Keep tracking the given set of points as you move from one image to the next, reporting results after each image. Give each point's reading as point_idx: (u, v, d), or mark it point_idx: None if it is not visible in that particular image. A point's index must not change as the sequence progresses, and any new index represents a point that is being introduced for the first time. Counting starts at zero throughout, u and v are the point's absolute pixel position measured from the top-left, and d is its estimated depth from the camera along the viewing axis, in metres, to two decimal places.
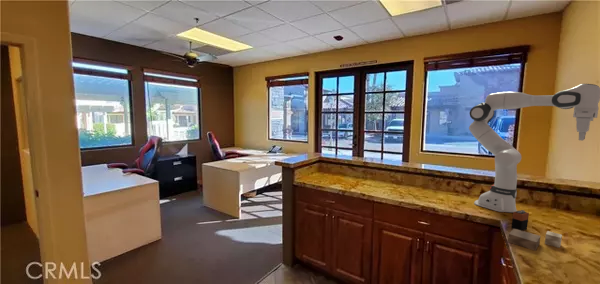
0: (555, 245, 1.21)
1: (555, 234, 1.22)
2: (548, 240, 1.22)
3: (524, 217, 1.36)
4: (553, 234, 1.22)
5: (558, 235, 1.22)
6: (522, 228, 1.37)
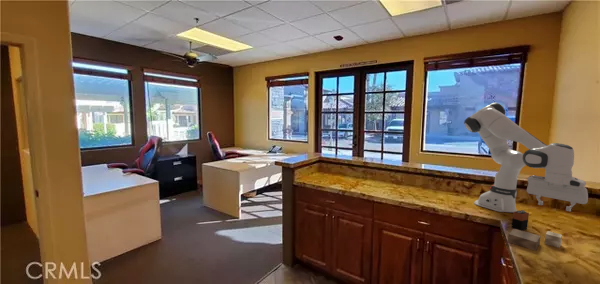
0: (555, 245, 1.21)
1: (555, 234, 1.22)
2: (548, 240, 1.22)
3: (524, 217, 1.36)
4: (553, 234, 1.22)
5: (558, 235, 1.22)
6: (522, 228, 1.37)
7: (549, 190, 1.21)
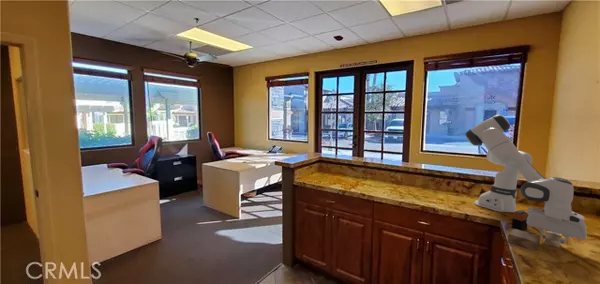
0: (555, 245, 1.21)
1: (555, 234, 1.22)
2: (548, 239, 1.22)
3: (524, 217, 1.36)
4: (553, 234, 1.22)
5: (558, 235, 1.22)
6: (522, 228, 1.37)
7: (549, 224, 1.23)
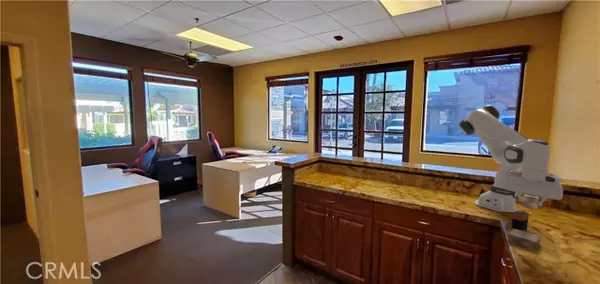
0: (532, 207, 1.19)
1: (532, 197, 1.21)
2: (525, 202, 1.21)
3: (524, 217, 1.36)
4: (530, 196, 1.21)
5: (535, 197, 1.20)
6: (522, 228, 1.37)
7: (525, 186, 1.21)
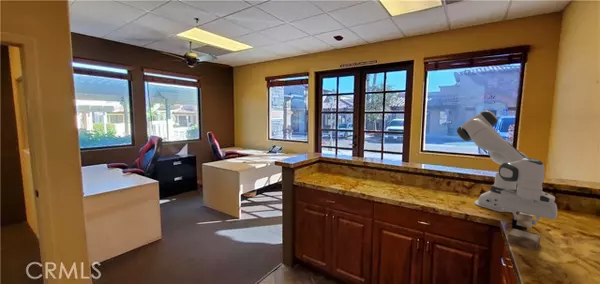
0: (526, 225, 1.20)
1: (527, 215, 1.22)
2: (520, 220, 1.22)
3: None
4: (525, 215, 1.22)
5: (530, 216, 1.21)
6: (522, 228, 1.37)
7: (520, 205, 1.22)
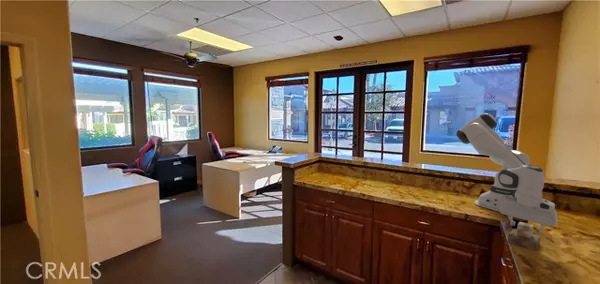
0: (526, 235, 1.21)
1: (527, 225, 1.22)
2: (520, 230, 1.22)
3: None
4: (525, 224, 1.22)
5: (529, 225, 1.22)
6: None
7: (521, 211, 1.22)
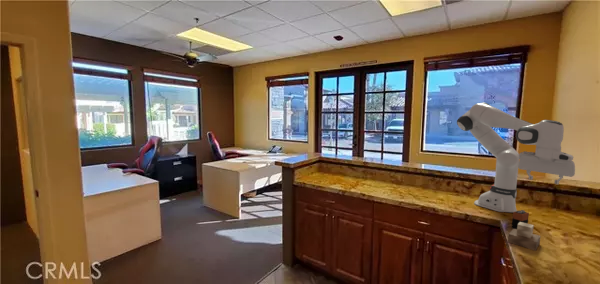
0: (526, 235, 1.21)
1: (527, 225, 1.22)
2: (520, 230, 1.22)
3: (524, 217, 1.36)
4: (525, 224, 1.22)
5: (529, 225, 1.22)
6: None
7: (539, 165, 1.27)
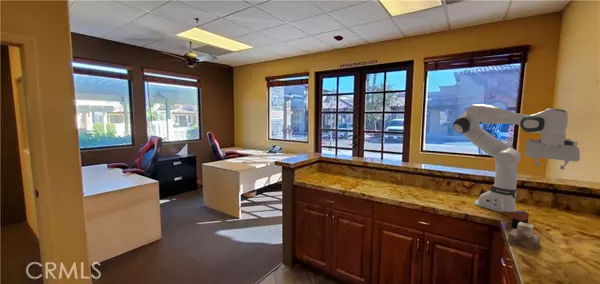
0: (526, 235, 1.21)
1: (527, 225, 1.22)
2: (520, 230, 1.22)
3: (524, 217, 1.36)
4: (525, 224, 1.22)
5: (529, 225, 1.22)
6: None
7: (545, 151, 1.32)
